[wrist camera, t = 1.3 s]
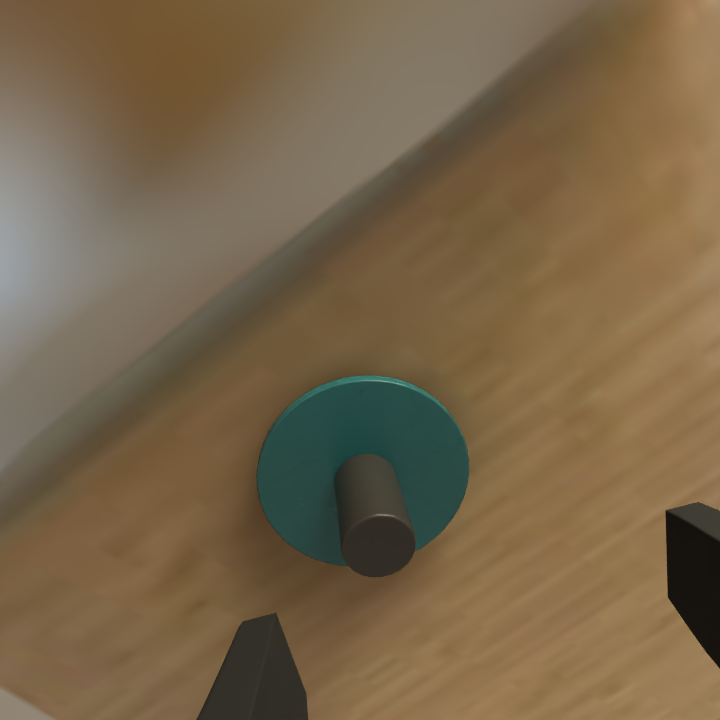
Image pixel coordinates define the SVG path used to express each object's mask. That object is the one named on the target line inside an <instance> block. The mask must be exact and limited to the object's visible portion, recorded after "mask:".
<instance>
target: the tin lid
mask: <svg viewBox="0 0 720 720" xmlns="http://www.w3.org/2000/svg"><path fill="white" fill-rule="evenodd" d="M468 476H469V457H468V451H467V446H466V443H465V440H464V437H463V435H462V433H461V431H460V429H459V427H458V425H457V423H456V422H455V420H454V419H453V417H452V416H451V414H450V413H449V412H448V410H447V409H446V408H445V407H444V406H443V405H442V404H441V403H440V402H439V401H438V400H437V399H435V398H434V397H433V396H432V395H430V394H429V393H428V392H426V391H424V390H422V389H421V388H419V387H417V386H415V385H412V384H410V383H408V382H405V381H402V380H398V379H394V378H390V377H383V376H354V377H347V378H342V379H338V380H334V381H331V382H328V383H326V384H323V385H320V386H318V387H316V388H314V389H313V390H311V391H309V392H307V393H305V394H304V395H302V396H301V397H300V398H298V399H297V400H295V401H294V402H293V403H292V404H291V405H290V406H289V407H287V408H286V409H285V410H284V411H283V413H282V414H281V415H280V416H279V417H278V418H277V420H276V421H275V422H274V424H273V425H272V427H271V429H270V430H269V432H268V434H267V436H266V438H265V440H264V443H263V445H262V449H261V452H260V456H259V461H258V469H257V490H258V496H259V500H260V503H261V506H262V509H263V511H264V513H265V515H266V517H267V519H268V521H269V523H270V524H271V525H272V527H273V528H274V530H275V531H276V532H277V533H278V534H279V535H280V536H281V537H282V539H283V540H284V541H286V542H287V543H288V544H289V545H291V546H292V547H293V548H295V549H296V550H298V551H300V552H301V553H303V554H305V555H307V556H309V557H311V558H313V559H316V560H319V561H322V562H325V563H329V564H334V565H339V566H349V567H350V568H351V569H352V570H353V571H355V572H357V573H359V574H361V575H364V576H368V577H383V576H387V575H391V574H393V573H395V572H397V571H399V570H400V569H402V568H403V567H404V566H405V565H406V564H407V563H408V562H409V561H410V559H411V558H412V556H413V554H414V552H415V551H417V550H418V549H420V548H422V547H423V546H425V545H426V544H428V543H429V542H430V541H431V540H433V539H434V538H435V537H436V536H437V535H438V534H439V533H440V532H441V531H442V530H443V529H444V528H445V527H446V526H447V525H448V523H449V522H450V521H451V520H452V518H453V517H454V515H455V513H456V512H457V510H458V508H459V507H460V504H461V502H462V500H463V497H464V495H465V491H466V488H467V484H468Z"/></svg>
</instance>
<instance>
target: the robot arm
mask: <svg viewBox="0 0 720 720" xmlns="http://www.w3.org/2000/svg"><path fill="white" fill-rule="evenodd" d="M666 542H667V581H668V598H669V599H670V601H671V602H672V604H673V605H674V607H675V608H676V610H677V611H678V613H679V614H680V616H681V617H682V619H683V620H684V622H685V623H686V624H687V626H688V627H689V629H690V630H691V632H692V633H693V634H694V636H695V637H696V638H697V640H698V641H699V643H700V644H701V645H702V647H703V648H704V650H705V651H706V652H707V654H708V655H709V656H710V657H711V658H712V660H713V661H714V662H715V663H716V664H717V666H718V667H719V668H720V511H719V510H716V509H714V508H712V507H709V506H707V505H704V504H702V503H699V502H696V503H692V504H689V505H685V506H681V507H677V508H673V509H670V510H666ZM197 720H308V712H307V698H306V692H305V689H304V686H303V684H302V681H301V678H300V676H299V673H298V670H297V668H296V665H295V662H294V660H293V657H292V654H291V652H290V649H289V646H288V644H287V641H286V638H285V635H284V633H283V630H282V627H281V625H280V622H279V619H278V617H277V614H276V613H273V614H270V615H266V616H262V617H258V618H254V619H251V620H247V621H243V622H242V623H241V625H240V626H239V628H238V630H237V632H236V635H235V637H234V639H233V641H232V644H231V646H230V648H229V651H228V653H227V655H226V657H225V660H224V662H223V664H222V666H221V669H220V671H219V673H218V675H217V677H216V680H215V682H214V684H213V686H212V688H211V690H210V693H209V695H208V697H207V699H206V701H205V703H204V706H203V708H202V710H201V712H200V714H199V716H198V718H197Z"/></svg>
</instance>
